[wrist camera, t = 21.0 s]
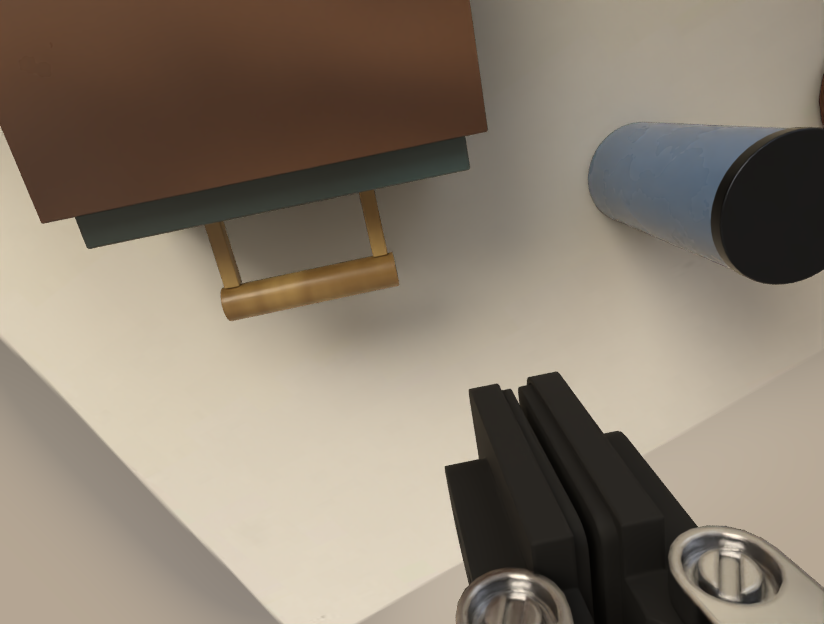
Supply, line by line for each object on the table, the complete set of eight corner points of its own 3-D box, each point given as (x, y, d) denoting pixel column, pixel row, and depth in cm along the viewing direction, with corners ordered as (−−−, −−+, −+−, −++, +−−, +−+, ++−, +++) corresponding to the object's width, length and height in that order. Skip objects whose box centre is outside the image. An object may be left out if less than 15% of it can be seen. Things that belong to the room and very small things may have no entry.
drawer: (457, 245, 28) (488, 286, 21) (183, 303, 27) (131, 362, 21) (375, -242, 21) (384, -393, 15) (16, -174, 21) (-132, -297, 15)
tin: (582, 132, 27) (720, 145, 17) (682, 111, 27) (878, 112, 17) (590, 231, 29) (720, 299, 19) (684, 212, 29) (865, 268, 19)
